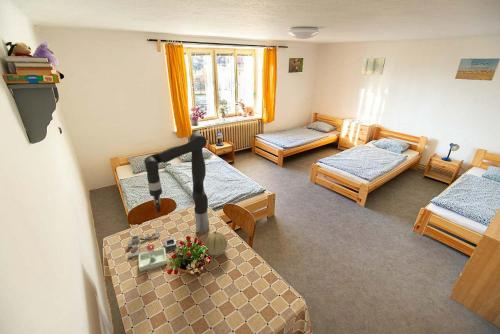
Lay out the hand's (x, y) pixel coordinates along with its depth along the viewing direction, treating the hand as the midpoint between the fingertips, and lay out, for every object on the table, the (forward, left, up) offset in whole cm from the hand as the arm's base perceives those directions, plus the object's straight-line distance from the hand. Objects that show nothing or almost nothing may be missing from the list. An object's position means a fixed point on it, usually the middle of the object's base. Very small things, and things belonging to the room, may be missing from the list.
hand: (158, 208), depth 159 cm
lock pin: (+8, +16, -28) cm, 33 cm away
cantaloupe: (-32, +23, -28) cm, 49 cm away
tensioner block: (-4, +6, -28) cm, 29 cm away
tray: (+8, +16, -28) cm, 33 cm away
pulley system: (+15, -4, -29) cm, 33 cm away
